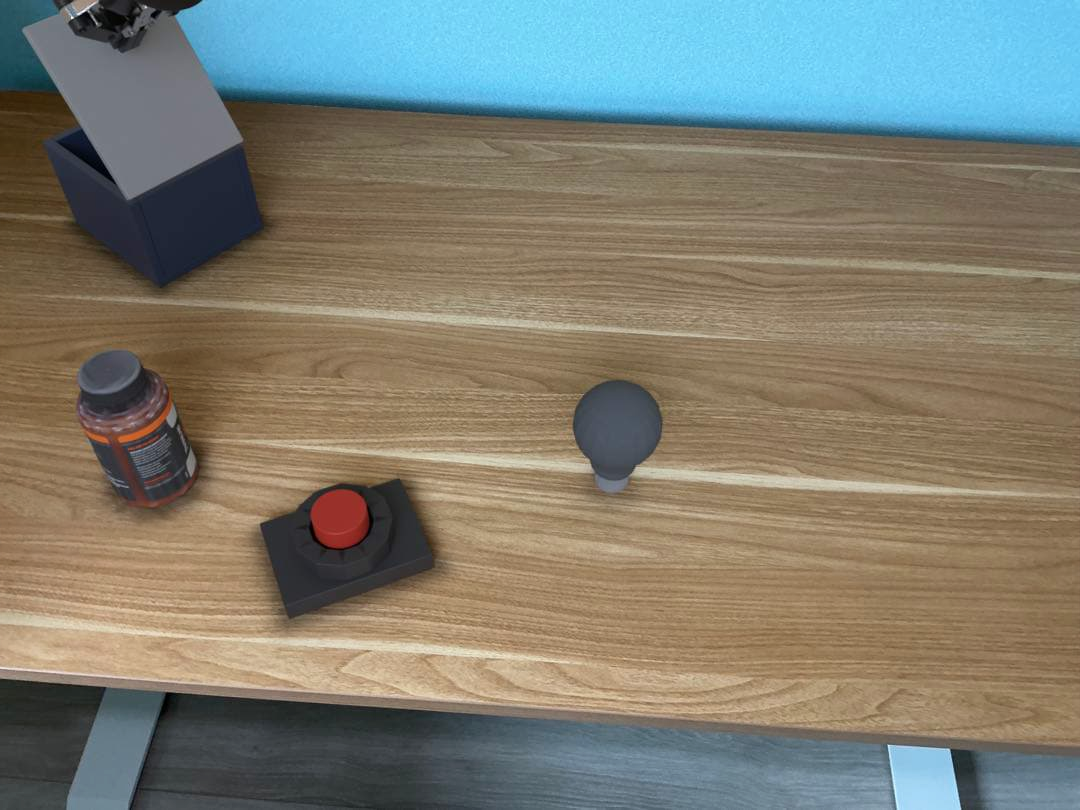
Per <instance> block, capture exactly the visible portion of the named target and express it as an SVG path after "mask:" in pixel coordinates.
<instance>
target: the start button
mask: <svg viewBox="0 0 1080 810" xmlns="http://www.w3.org/2000/svg"><path fill="white" fill-rule="evenodd" d="M311 520H312V524H313V528H314V531H315V535H316V537H317V539H318V540H319V541H320V542H321V543H322V544H324V545H325V546H327V547H330V548H335V549H343V548H348V547H351V546H353V545H355V544H357V543H358V542H360V541H361V540H362V539H363V538H364V537H365V535H366V534H367V532H368V529H369V523H370V522H369V516H368V511H367V506H366V503H365V501H364V499H363V498H362V497H361V496H360V495H359V494H357V493H356V492H354V491H351V490H346V489H338V490H333V491H330V492H327V493H325V494H324V495H322V496H321V497H319V498H318V499H317V500H316V502H315V503H314V505H313V507H312V510H311Z"/></svg>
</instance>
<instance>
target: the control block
mask: <svg viewBox="0 0 1080 810" xmlns="http://www.w3.org/2000/svg"><path fill="white" fill-rule="evenodd" d="M338 489H346V490H351V491H354V492H356V493H357V494H359V495H360V496H361V497H362V498H363V499H364V501H365V503H366V506H367V511H368V516H369V522H370V523H369V529H368V532H367V534H366V535H365V537H364V538H363V539H362V540H361V541H360V542H358V543H357V544H355V545H353V546H351V547H348V548H343V549H335V548H330V547H327V546H325V545H324V544H322V543H321V542H320V541H319V540H318V539H317V537H316V535H315V531H314V528H313V524H312V520H311V510H312V507H313V505H314V503H315V502H316V500H317V499H318V498H319V497H321V496H322V495H324V494H325V493H327V492H330V491H333V490H338ZM259 528H260V530H261V534H262V537H263V540H264V544H265V547H266V551H267V553H268V557H269V561H270V563H271V567H272V570H273V574H274V577H275V580H276V583H277V587H278V591H279V593H280V598H281V599H282V604H283V607H284V610H285V613H286V615H287V618H288V619H289V620H291V619H294V618H297V617H301V616H303V615H305V614H308V613H311V612H313V611H317V610H320V609H322V608H326V607H328V606H331V605H334V604H336V603H340V602H342V601H345V600H348V599H351V598H353V597H357V596H359V595H362V594H364V593H367V592H370V591H373V590H376V589H378V588H382V587H384V586H387V585H390V584H394V583H395V582H400V581H401V580H404V579H407V578H410V577H412V576H416V575H418V574H421V573H423V572H427V571H430V570H433V569H434V568H435V561H434V554H433V552H432V549H431V547H430V545H429V542H428V539H427V538H426V535H425V532H424V530H423V528H422V526H421V523H420V521H419V519H418V516H417V515H416V512H415V509H414V507H413V505H412V502H411V500H410V498H409V495H408V493H407V491H406V488H405V486H404V484H403V482H402V479H401V478H400V477H397V478H395V479H391V480H389V481H385V482H382V483H379V484H376V485H373V486H367V485H365V484H355V483H345V482H341V483H336V484H333V485H330V486H327V487H325V488H321V489H318V490H316V491H314V492H313V493H312V494H311V495H309V497H307V498H306V499H305V500H304V501H303V502H302V503H300V504H299V505H298V506H297V507H296V510H295V511H293V512H290V513H287V514H283V515H282V516H277V517H275V518H271V519H269V520H268V519H267V520H265V521H263V522H260V523H259Z"/></svg>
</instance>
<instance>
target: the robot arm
mask: <svg viewBox="0 0 1080 810" xmlns="http://www.w3.org/2000/svg"><path fill="white" fill-rule="evenodd" d="M203 1H204V0H52V4H53V5H54V6H55V8H56V9H57V11H58V12H59V14H61V15H62V17H63V18H64V20H65V21H66V23H67V24H68V25H69V27H70V28H71V30H72V31H73V33H74V34H75V35H76V36H80V37H84V38H88V39H92V40H96V41H100V42H104V43H108V42H109V43H110V44H111V46H112V47H113V49H114V50H115V49H118V50H119V52H120V53H124V52H127V51H129V50H131V49H134V48H136V47H138V46H139V45H140V43H141V41H142V39H143V37H144V36H145V35H146V33H147V30H148V29H149V28H153V27H155V26H156V24H157V23H158V22H159V21H160V19H161V18H164V17H166V16H168V17H170V16H175V17H176V16H177V15H178V14H179V13H180V12H181V11H185V10H188V9H191V8H194V7H196V6H197V5H199V4H200V3H202V2H203ZM101 6H102V7H103V8H102V7H101Z"/></svg>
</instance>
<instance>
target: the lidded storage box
mask: <svg viewBox="0 0 1080 810" xmlns="http://www.w3.org/2000/svg"><path fill="white" fill-rule="evenodd" d="M42 145H43V146H44V149H45V151H46V154H47V156H48V158H49V161H50V163H51V165H52V167H53V170H54V173H55V175H56V177H57V181H58V182H59V184H60V187H61V189H62V192H63V194H64V196H65V198H66V201H67V204H68V206H69V209H70V211H71V213H72V215H73V216H72V217H73V218H74V221H75V223H76V225H77V226H79V227H80V228H81V229H83V230H84V231H86V233H88V234H89V235H91V237H93V238H94V239H96V241H98V242H100V243H101V244H103V245H104V246H105V247H106V248H108V249H109V250H110V251H111V252H113V253H114V255H116V256H118V257H119V258H120V259H122V260H123V261H124V262H125V263H127V264H128V265H129V266H131V267H132V268H133V269H134V270H136V271H137V272H139V274H141V275H142V276H143V277H145V278H146V279H147V280H148V281H150V282H152V283H153V284H154V285H155V286H156V287H158V288H159V289H162V288H163V287H165V286H166V285H169V284H170V283H171V282H173V281H175V280H177V279H178V278H180V277H182V276H183V275H185V274H187V273H189V272H191V271H193V270H194V269H196V268H197V267H200V266H201V265H203V264H205V263H206V262H208V261H209V260H211V259H213V258H215V257H217V256H218V255H220V254H222V253H224V252H225V251H227V250H229V249H231V248H232V247H234V246H235V245H237V244H239V243H241V242H242V241H244V240H246V239H247V238H249V237H252V236H253V235H254V234H256V233H258V232H260V231H262V230H263V229H264V225H263V221H262V217H261V214H260V209H259V205H258V202H257V197H256V193H255V188H254V185H253V180H252V177H251V172H250V168H249V163H248V160H247V156H246V152H245V148H244V145H241V143H239V144H237V145H235V146H233V147H231V148H230V149H228V150H226V151H224V152H222V153H220V154H218V155H216V156H214V157H212V158H210V159H208V160H206V161H204V162H202V163H201V164H199V165H197V166H195V167H193V168H191V169H189V170H187V171H185V172H183V173H181V174H179V175H177V176H175V177H174V178H172V179H170V180H168V181H166V182H164V183H162V184H160V185H158V186H156V187H154V188H152V189H150V190H148V191H147V192H145V193H143V194H141V195H139V196H137V197H135V198H133V199H131V200H128V201H127V200H126V198H125V197H124V195H123V193H122V192H121V190H120V189H119V187H118V185H117V184H116V182H115V180H114V179H113V177H112V176H111V174H110V172H109V171H108V169H107V167H106V166H105V164H104V163H103V161H102V159H101V158H100V156H99V155H98V153H97V151H96V150H95V148H94V146H93V145H92V143H91V142H90V140H89V138H88V137H87V135H86V134H85V132H84V130H83V129H82V127H81V125H80V124H78V125H75V126H73V127H71V128H69V129H67V130H64V131H62V132H61V133H58V134H56V135H54V136H52V137H50V138H47V139H45V140H43V141H42Z"/></svg>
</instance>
